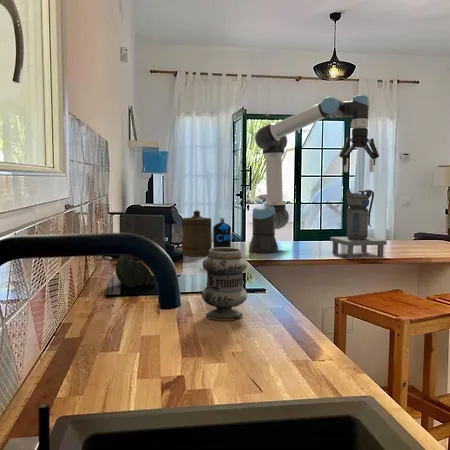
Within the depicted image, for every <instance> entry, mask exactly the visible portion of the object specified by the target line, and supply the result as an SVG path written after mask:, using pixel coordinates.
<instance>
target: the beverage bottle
mask: <svg viewBox="0 0 450 450" xmlns="http://www.w3.org/2000/svg"><path fill="white" fill-rule="evenodd" d="M374 195H375V192H374V191H373V190H372V189H365V190H358V192H351V188H347V190H346V193H345V198H346V201H347V206H348V208H347V210H346V211H347V212H346V215H347V216H346V218H347V219H346V220H347V221H346V237H347V238H349V239H355V240H363V239H366V238H367V237H369V236H368V235H369V233H368V229H369V227H370V228H372V226H371V212H372V207H373V203H374V198H375V196H374ZM370 198H371V200H370ZM368 206H369V208H368Z"/></svg>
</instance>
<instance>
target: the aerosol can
mask: <svg viewBox="0 0 450 450" xmlns="http://www.w3.org/2000/svg"><path fill="white" fill-rule="evenodd" d="M212 230H213V231H212V232H213V235H212V236H213V237H212V238H213V239H212V246H213V247H212V248H217V247H231V246H232V245H231V243H232V241H231V239H232V238H231V236H232V235H231V234H232V232H231V230H232V226H230V225H229V224H228V223H226V222H225V217H220V218H219V222H218V223H216V224H214V226H212ZM231 248H232V247H231Z"/></svg>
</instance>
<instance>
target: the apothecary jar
mask: <svg viewBox="0 0 450 450" xmlns="http://www.w3.org/2000/svg"><path fill="white" fill-rule="evenodd" d="M247 267H248V261H247V259H246V258H245V257H243V254H242V249H240V248H237V247H217V248H213V247H212V248H211V249H210V250H209V254H208V256H205V258H204V259H203V261H202V268H203V269H204V270H205V271H206V274H207V277H206V287H204V289H203V290H202V292H201V293H202V294H201V298H202V300H203V301H204V302H205V303H206V304H207V305H209V306H212V307H215V308H213V309H212V310H209V311H208V312H207V313H205V317H206V318H207V319H210V320H214V321H220V322H230V321H234V320H235V321H236V320H237V319H238V320H240V319H242V318H243V316H244V315H243V313H242V312H241V311H238V310H237V309H235V307H239V306H240V305H242V304H244V303H245V302H246V300H247V298H248V293H247V290H246V289H245V288H244V285H243V282H244V281H243V280H244V279H243V273H244V271H245V270H246V269H247Z"/></svg>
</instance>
